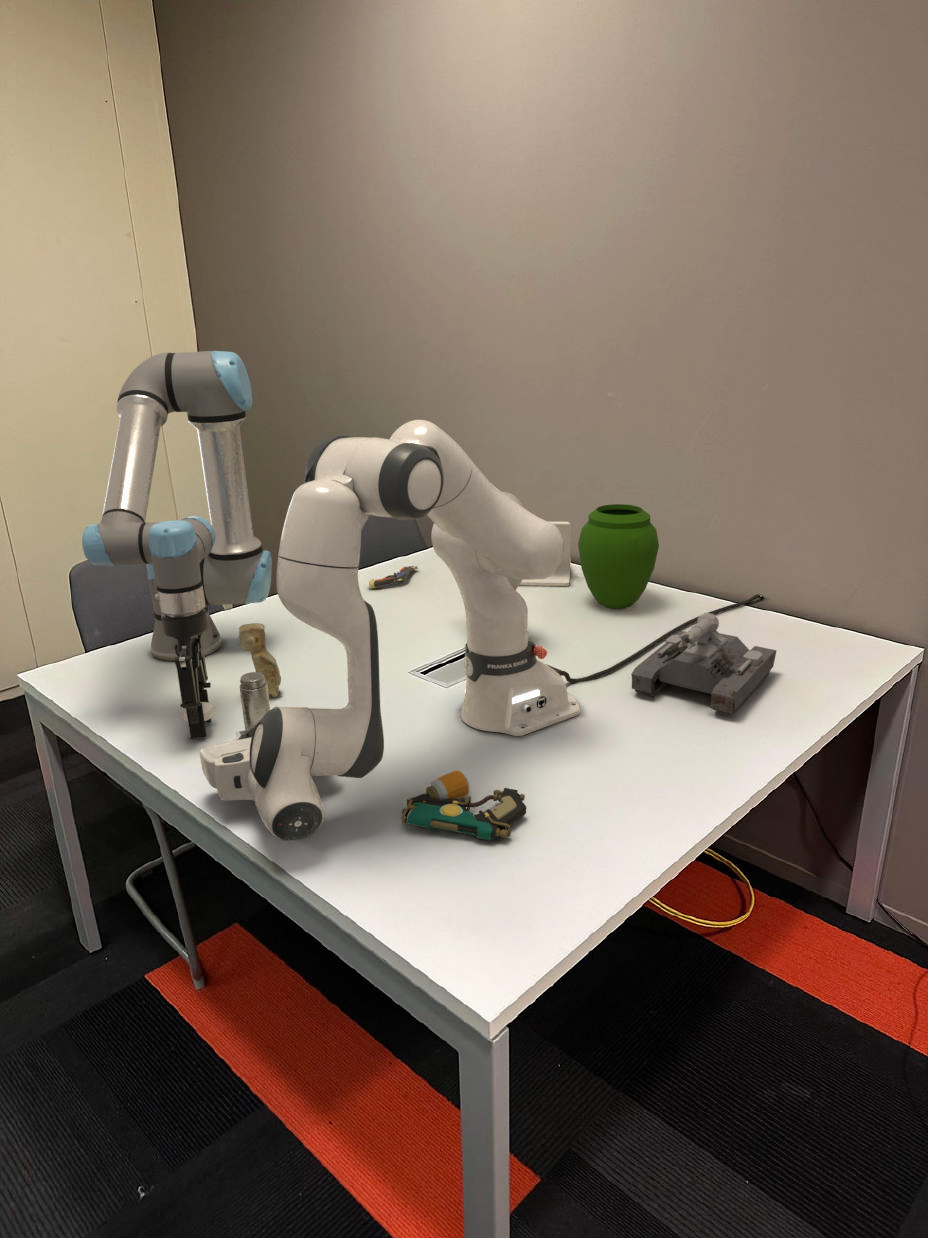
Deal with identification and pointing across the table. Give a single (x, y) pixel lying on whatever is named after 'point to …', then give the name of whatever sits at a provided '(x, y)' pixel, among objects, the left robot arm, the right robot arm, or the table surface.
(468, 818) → the spray gun
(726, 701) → the toy
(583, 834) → the table surface
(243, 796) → the right robot arm
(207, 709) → the lid
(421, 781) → the table surface
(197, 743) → the table surface
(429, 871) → the table surface
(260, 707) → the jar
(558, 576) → the tablet stand
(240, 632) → the sculpture
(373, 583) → the toy gun
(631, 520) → the vase
